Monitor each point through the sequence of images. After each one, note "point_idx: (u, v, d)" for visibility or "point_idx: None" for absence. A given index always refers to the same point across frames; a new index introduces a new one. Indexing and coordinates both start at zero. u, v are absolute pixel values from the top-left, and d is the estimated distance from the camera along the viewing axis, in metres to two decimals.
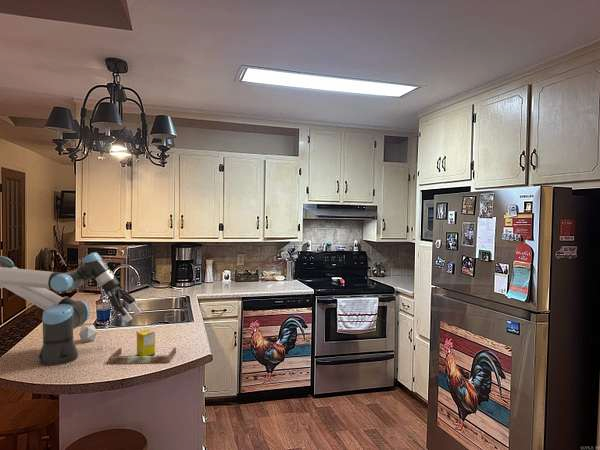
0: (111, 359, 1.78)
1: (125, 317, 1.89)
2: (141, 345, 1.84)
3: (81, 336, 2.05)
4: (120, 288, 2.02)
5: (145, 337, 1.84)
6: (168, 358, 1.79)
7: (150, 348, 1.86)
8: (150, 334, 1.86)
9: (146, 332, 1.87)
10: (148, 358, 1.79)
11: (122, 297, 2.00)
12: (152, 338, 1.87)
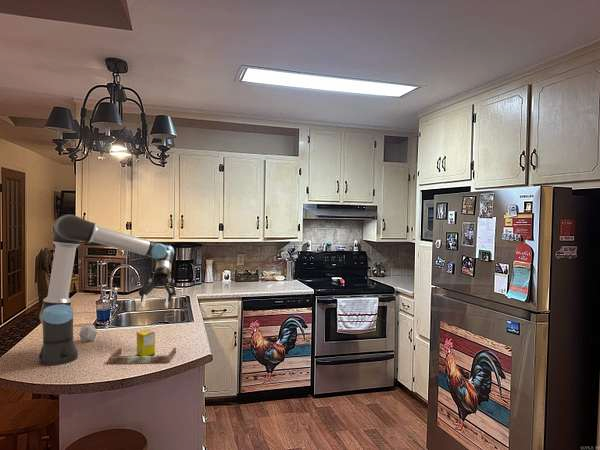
0: (111, 359, 1.78)
1: (167, 302, 2.02)
2: (141, 345, 1.84)
3: (81, 336, 2.05)
4: None
5: (145, 337, 1.84)
6: (168, 358, 1.79)
7: (150, 348, 1.86)
8: (150, 334, 1.86)
9: (146, 332, 1.87)
10: (148, 358, 1.79)
11: (152, 286, 2.08)
12: (152, 338, 1.87)
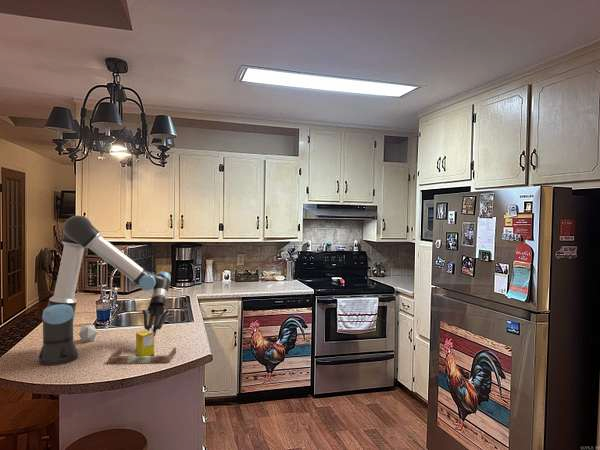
0: (111, 359, 1.78)
1: None
2: (141, 345, 1.83)
3: (81, 336, 2.05)
4: None
5: (144, 337, 1.83)
6: (168, 358, 1.79)
7: (149, 348, 1.85)
8: (149, 335, 1.85)
9: (145, 333, 1.86)
10: (148, 358, 1.79)
11: (153, 317, 2.00)
12: (152, 339, 1.86)
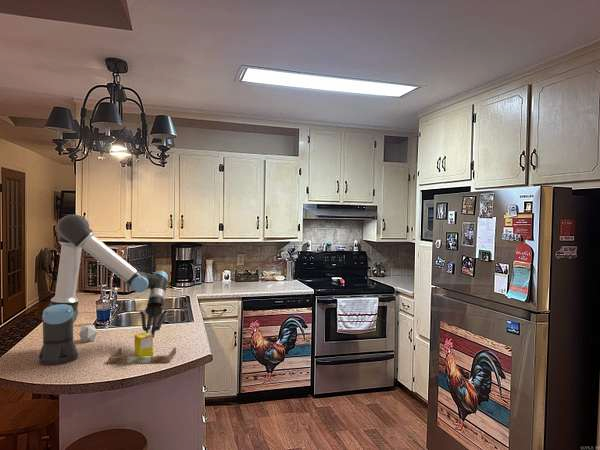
0: (111, 359, 1.78)
1: None
2: (139, 348, 1.80)
3: (81, 336, 2.05)
4: None
5: (142, 340, 1.80)
6: (168, 358, 1.79)
7: (147, 351, 1.82)
8: (148, 337, 1.82)
9: (143, 335, 1.83)
10: (148, 358, 1.79)
11: (151, 318, 1.97)
12: (150, 341, 1.83)
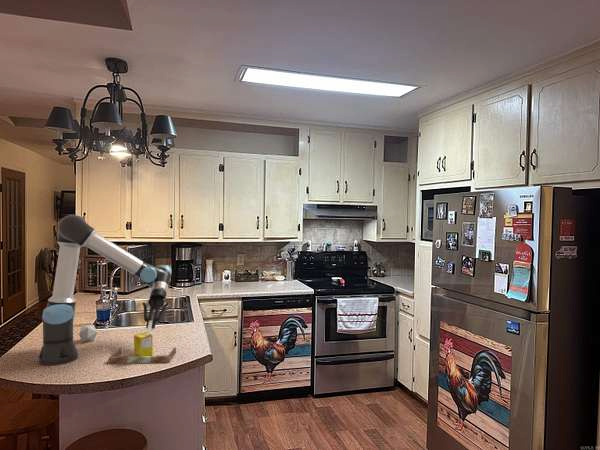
0: (111, 359, 1.78)
1: (150, 329, 1.93)
2: (139, 348, 1.80)
3: (81, 336, 2.05)
4: None
5: (142, 339, 1.80)
6: (168, 358, 1.79)
7: (147, 351, 1.82)
8: (148, 337, 1.82)
9: (143, 334, 1.83)
10: (148, 358, 1.79)
11: (153, 309, 2.01)
12: (150, 341, 1.83)
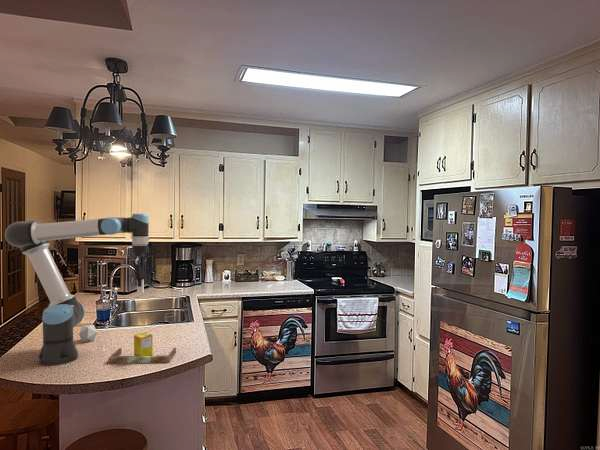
0: (111, 359, 1.78)
1: (138, 288, 2.01)
2: (139, 348, 1.80)
3: (81, 336, 2.05)
4: (144, 258, 2.06)
5: (142, 339, 1.80)
6: (168, 358, 1.79)
7: (147, 351, 1.82)
8: (148, 337, 1.82)
9: (143, 334, 1.83)
10: (148, 358, 1.79)
11: None
12: (150, 341, 1.83)
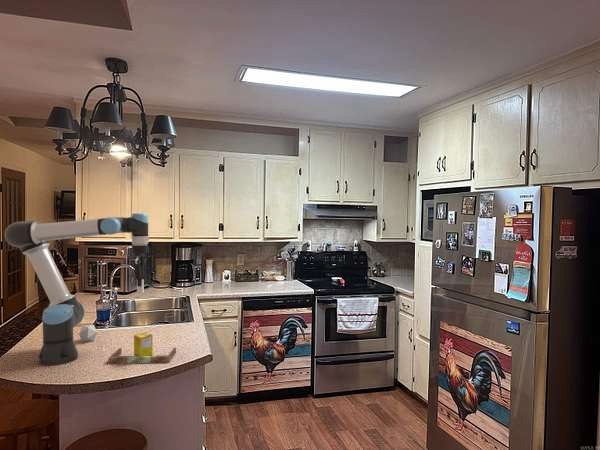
0: (111, 359, 1.78)
1: (138, 288, 2.00)
2: (139, 348, 1.80)
3: (81, 336, 2.05)
4: (144, 258, 2.06)
5: (142, 339, 1.80)
6: (168, 358, 1.79)
7: (147, 351, 1.82)
8: (148, 337, 1.82)
9: (143, 334, 1.83)
10: (148, 358, 1.79)
11: None
12: (150, 341, 1.83)
